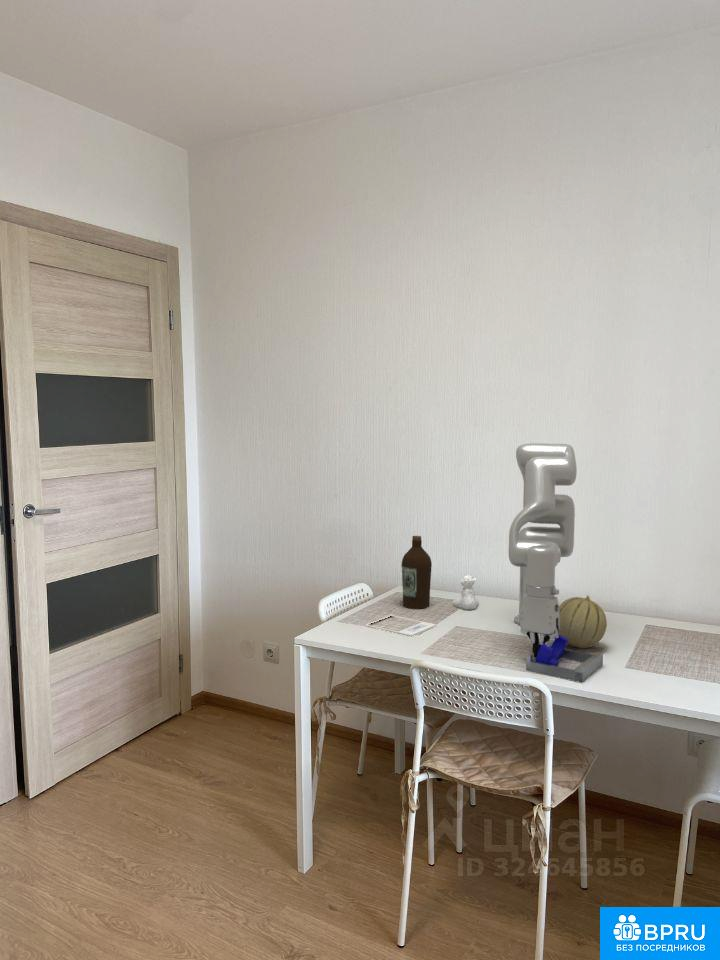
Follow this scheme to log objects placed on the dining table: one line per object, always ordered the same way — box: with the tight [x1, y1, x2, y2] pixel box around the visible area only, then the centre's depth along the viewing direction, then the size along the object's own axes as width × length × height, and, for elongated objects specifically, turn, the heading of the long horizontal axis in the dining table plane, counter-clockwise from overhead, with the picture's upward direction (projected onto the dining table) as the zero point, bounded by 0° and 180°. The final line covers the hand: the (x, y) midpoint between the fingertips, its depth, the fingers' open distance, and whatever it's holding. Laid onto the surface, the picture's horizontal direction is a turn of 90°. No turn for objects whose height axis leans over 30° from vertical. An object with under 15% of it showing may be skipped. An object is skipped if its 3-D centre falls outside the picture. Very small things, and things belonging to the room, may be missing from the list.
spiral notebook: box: [364, 614, 438, 638], centre depth 234 cm, size 15×1×18 cm
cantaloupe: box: [558, 595, 608, 649], centre depth 213 cm, size 15×15×15 cm
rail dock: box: [525, 640, 604, 683], centre depth 195 cm, size 16×15×4 cm
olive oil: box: [400, 535, 433, 610], centre depth 258 cm, size 11×11×25 cm
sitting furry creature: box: [452, 574, 480, 611], centre depth 256 cm, size 10×9×12 cm
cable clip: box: [534, 634, 568, 667], centre depth 197 cm, size 12×4×6 cm, turn 143°
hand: (538, 657), depth 199 cm, fingers closed
